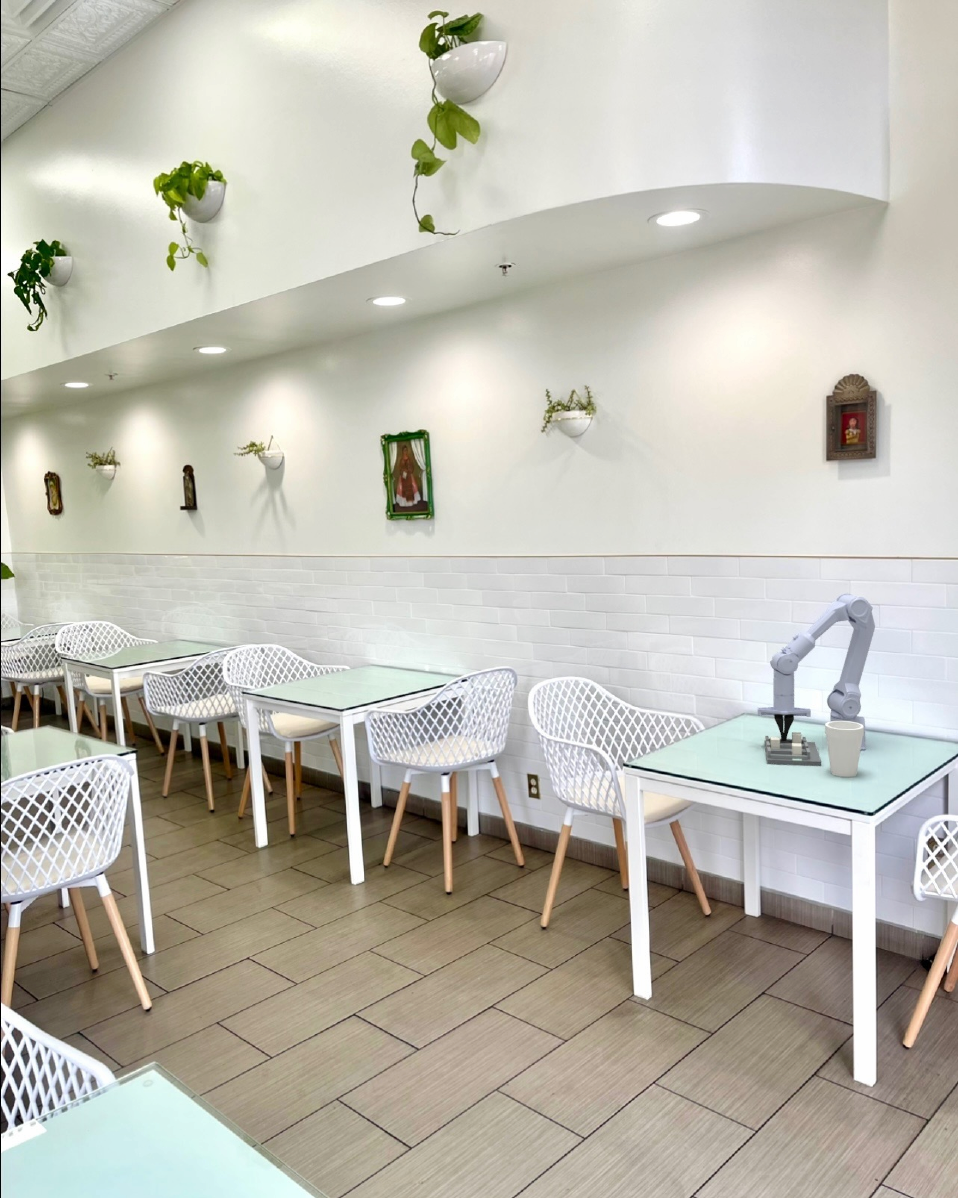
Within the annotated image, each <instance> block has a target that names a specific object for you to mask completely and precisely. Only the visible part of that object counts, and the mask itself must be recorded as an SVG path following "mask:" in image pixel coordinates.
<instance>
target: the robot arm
mask: <svg viewBox="0 0 958 1198" xmlns="http://www.w3.org/2000/svg"><path fill="white" fill-rule="evenodd" d="M846 621H848V622H849V624H850V625H851V627H852V628H853V629H852V630H853V631H852V635H851V638H850V640H849V641H850V642H849V645H848V648H847V652H846V657H845V660H844V663H843V667H842V670H841V674H840V677H839V681H838V682H836V683H835V684H834V686H833V688H832V690H831V692H830V693H829V694H828V696H827V699H826V703H827V706H828V708H829V709H830V712H829V713H830V714H829V715H830V717H829V719H830V721H829V722H832V721H850V722H856V723H859V724H862V725H863V726H864V736H863V737H862V744H861V750H860V751H863V750H864V751H865V750H866V720H865V716H859V714H860V712H861V709H862V705H861V699H862V698H861V697H862V693H861V688H860V684H861V683H860V682H861V679H862V675H863V672H864V667H865V665H866V662H867V658H868V654H869V650H870V647H871V643H872V640H873V636H874V632H875V627H876V624H875V620H874V616H873V606H872V605H871V603H870V602H869V600H868V599H866V598H865V597H862V596H858V595H857V596H856V595H853V594H850V593H842V594H840V595H839V596H837V598H836V600H833V601H832V602H831V604H830V605H829V606H828V608H827V609H826V610H825V611H824V612H823V613H822V615H821V616H820V617H819V618H818V619H817V620H816V621H814V624H812V625H811V626H810V628H808V630H807V631H806V632H799V633H798V634H796V633H795V634H794V635H792V640H791V641H790V642H788V644H787V645H786V646H785V647H781V649H780V650H781V651H779V652H776V653H775V654H773V656H772V658H771V660H770V661H769V663H770V667H771V668H772V669H773V678H772V679H773V682H772V683H773V684H772V685H773V701H772V702H773V704H772V705H773V706H766V707H757V716H761V717H762V716H773V718H774V721H775V723H776V725H777V727H778V730H779V733H780V739H781V741H787V739H788V735H789V732H790V729H791V727H792V724H793V722H794V720H795V717H807V718H811V716H812V713H811V709H810V708H802V707H795V672H796V671H797V670H798V667H799V663H800V662H801V661H802V660H803V659H804V658H805V657H806V656H808V655H809V653H811V651H813V649H814V648H815V647H816V641H817V640H818V639H819V638H820V637H822V635H823V634H825V633H826V632H827V631H828V630H829V629H830V628H832V626H834V625H835V624H836V623H838V622H846Z"/></svg>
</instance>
